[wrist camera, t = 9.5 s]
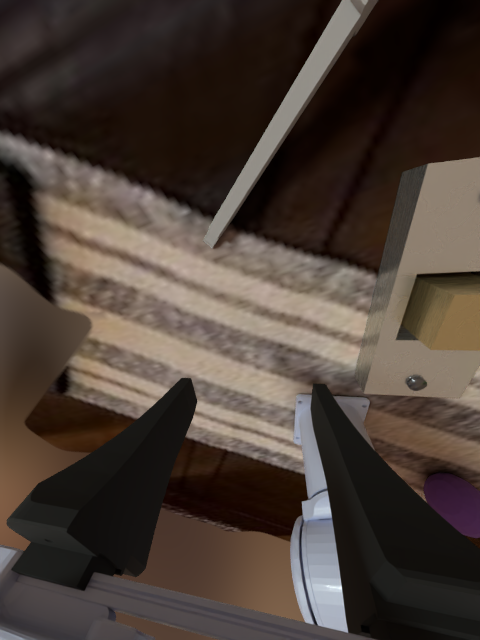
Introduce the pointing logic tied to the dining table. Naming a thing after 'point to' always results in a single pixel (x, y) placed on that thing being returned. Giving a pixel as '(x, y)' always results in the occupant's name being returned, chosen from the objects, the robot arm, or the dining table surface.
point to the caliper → (292, 107)
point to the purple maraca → (455, 502)
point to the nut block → (445, 311)
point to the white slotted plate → (400, 273)
